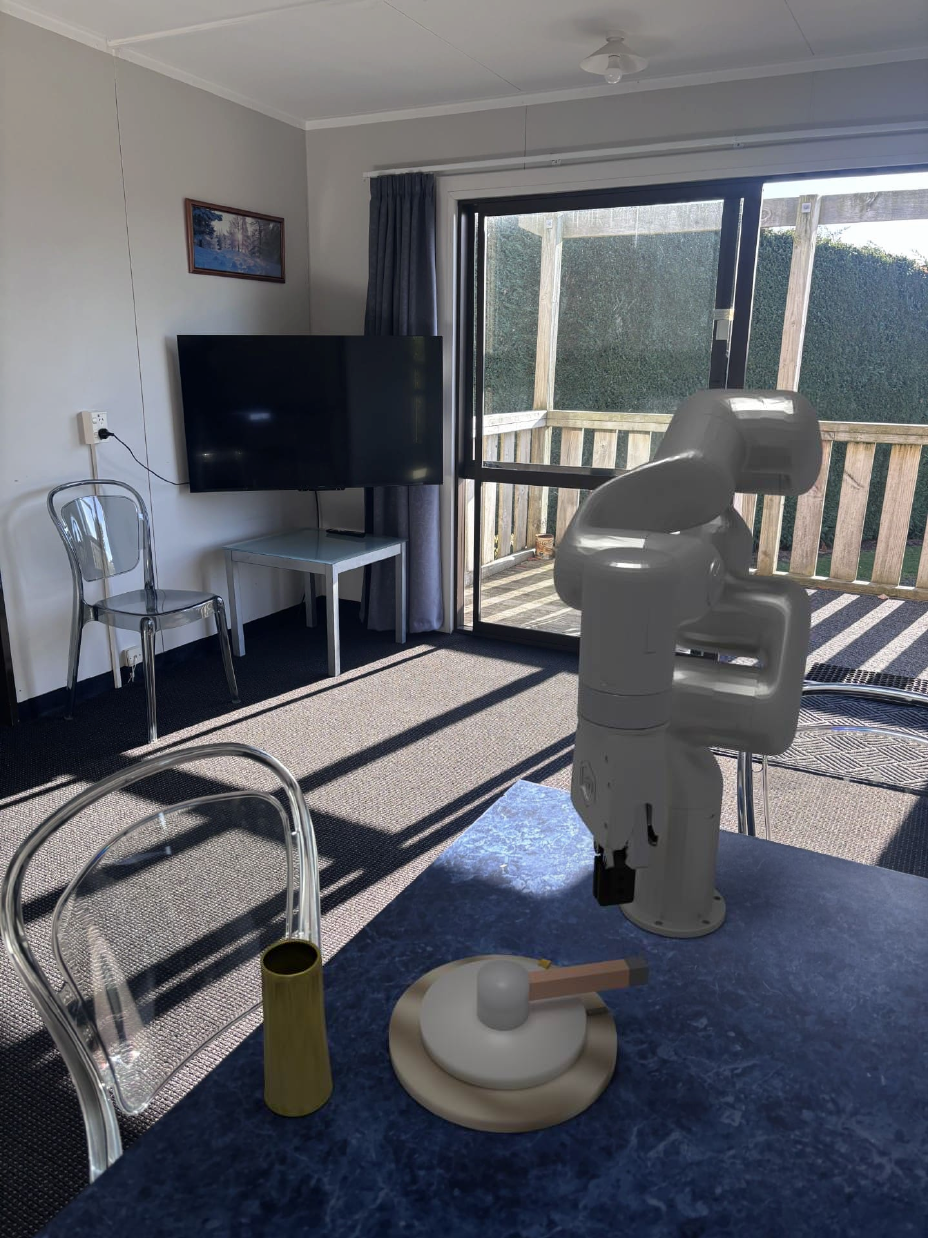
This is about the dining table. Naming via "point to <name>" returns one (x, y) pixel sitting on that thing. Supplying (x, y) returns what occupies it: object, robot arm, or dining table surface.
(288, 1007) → the vase
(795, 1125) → the dining table surface
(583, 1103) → the dial base
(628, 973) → the dial
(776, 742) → the robot arm
